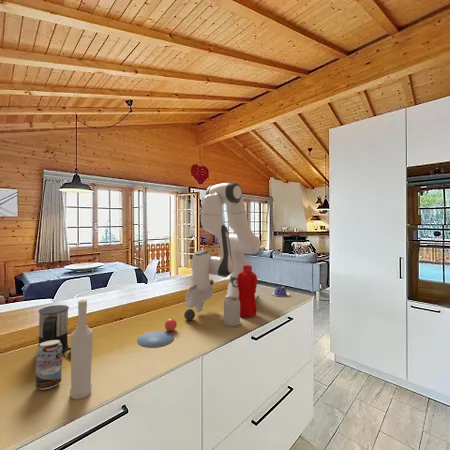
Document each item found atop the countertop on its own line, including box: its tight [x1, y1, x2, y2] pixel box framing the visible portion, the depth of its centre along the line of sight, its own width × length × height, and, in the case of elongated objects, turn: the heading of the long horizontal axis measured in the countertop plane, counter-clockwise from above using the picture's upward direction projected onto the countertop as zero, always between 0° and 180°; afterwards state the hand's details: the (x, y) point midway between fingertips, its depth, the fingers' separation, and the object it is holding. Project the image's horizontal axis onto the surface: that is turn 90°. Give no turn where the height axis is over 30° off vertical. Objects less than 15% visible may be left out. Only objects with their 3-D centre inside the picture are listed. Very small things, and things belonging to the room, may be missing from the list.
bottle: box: [69, 299, 94, 400], centre depth 71 cm, size 5×5×25 cm
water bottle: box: [237, 264, 258, 319], centre depth 134 cm, size 9×11×25 cm
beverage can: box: [34, 340, 63, 390], centre depth 75 cm, size 6×7×12 cm
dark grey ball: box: [183, 308, 196, 321], centre depth 126 cm, size 5×5×5 cm
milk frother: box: [37, 304, 71, 354], centre depth 94 cm, size 14×16×15 cm
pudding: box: [270, 285, 291, 298], centre depth 174 cm, size 12×12×5 cm
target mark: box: [136, 330, 175, 348], centre depth 105 cm, size 14×14×1 cm
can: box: [223, 296, 241, 328], centre depth 122 cm, size 8×8×12 cm
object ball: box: [164, 318, 178, 332], centre depth 113 cm, size 5×5×5 cm
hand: (199, 311), depth 133 cm, fingers closed
